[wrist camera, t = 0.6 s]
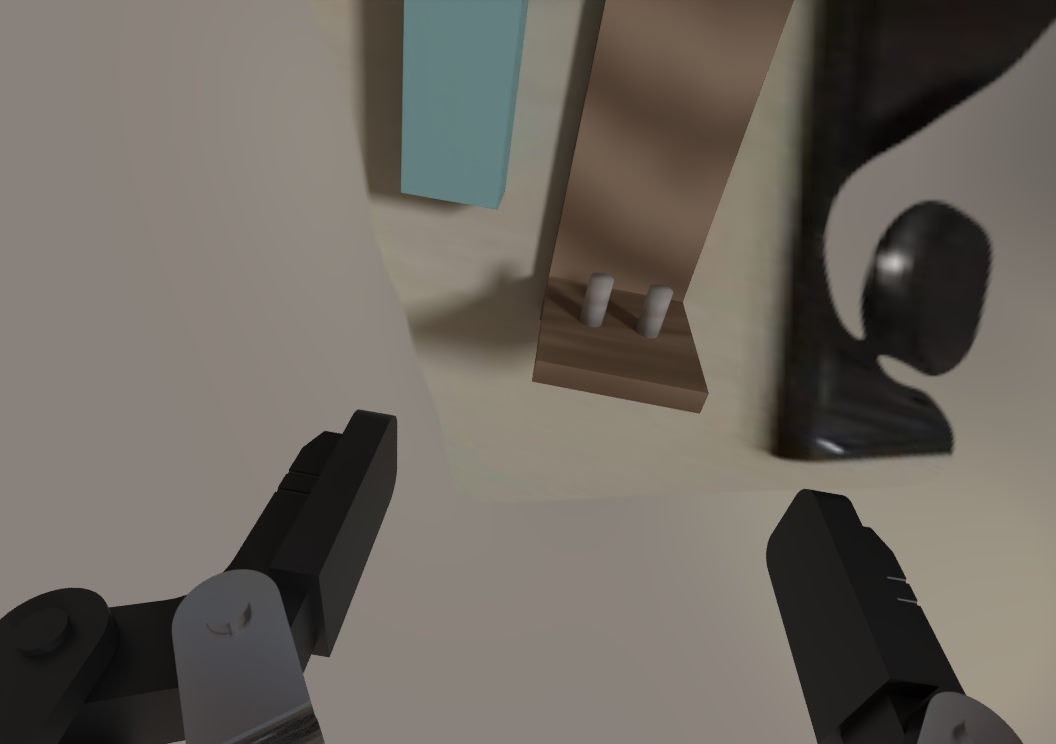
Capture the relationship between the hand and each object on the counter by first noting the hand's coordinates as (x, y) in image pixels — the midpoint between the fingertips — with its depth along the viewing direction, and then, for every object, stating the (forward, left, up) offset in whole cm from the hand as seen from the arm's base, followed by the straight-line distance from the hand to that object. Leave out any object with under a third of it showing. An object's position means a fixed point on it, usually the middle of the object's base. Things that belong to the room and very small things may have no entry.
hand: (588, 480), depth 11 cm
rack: (-4, +3, -23) cm, 24 cm away
